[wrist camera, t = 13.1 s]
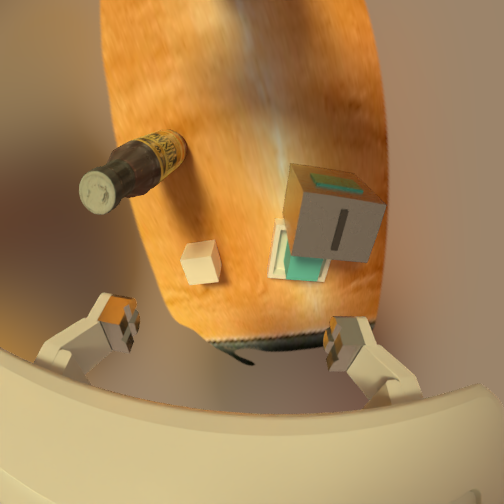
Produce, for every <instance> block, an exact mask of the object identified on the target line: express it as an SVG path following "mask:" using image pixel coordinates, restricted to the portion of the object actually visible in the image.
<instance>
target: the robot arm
mask: <svg viewBox="0 0 504 504" xmlns="http://www.w3.org/2000/svg"><path fill="white" fill-rule="evenodd" d="M136 306H137V304H136V300H135V299H134V298H130V297H124V296H119V295H114V294H108V293H102V294H101V295H100V296H99V298H98V300H97V301H96V303H95V305H94V306H93V308H92V310H91V312H90V313H89V315H88V317H87V319H86V318H83V319H81V320H80V321H78V322H76V323H75V324H74V325H71V326H70V327H68V328H67V329H65V330H63V331H62V332H60V333H59V334H57V335H55V336H54V337H52V338H51V339H49V340H47V341H46V342H45V343H44V345H43V346H42V348H41V350H40V352H39V354H38V356H37V357H36V359H35V361H34V363H31V362H29V361H27V360H24V359H22V358H20V357H18V356H16V355H14V354H12V353H10V352H8V351H6V350H4V349H3V348H1V347H0V504H504V408H503V405H502V403H501V401H500V400H499V398H498V397H497V396H496V395H495V394H493V393H492V392H491V391H490V390H489V389H488V388H487V387H485V386H484V385H482V384H480V383H479V384H478V383H477V384H473V385H470V386H467V387H464V388H461V389H457V390H454V391H451V392H447V393H444V394H440V395H437V396H432V397H428V398H423V396H422V393H421V390H420V387H419V384H418V382H417V379H416V376H415V375H414V374H413V373H412V372H410V371H409V370H408V369H407V368H405V366H404V365H402V364H401V363H400V362H399V361H398V360H397V359H396V358H394V357H393V356H392V355H391V354H390V353H389V352H387V351H386V350H385V349H384V348H383V347H382V346H381V345H377V343H376V341H375V338H374V335H373V333H372V330H371V327H370V325H369V322H368V320H367V318H366V317H351V316H333V317H332V318H331V319H330V322H329V324H330V327H329V328H328V329H326V331H325V334H324V339H323V346H324V351H325V352H326V353H327V354H328V356H327V358H326V362H327V367H328V371H347V373H348V375H349V376H350V377H351V378H352V379H353V381H354V382H355V383H356V384H357V385H358V387H359V388H360V389H361V390H362V392H363V393H364V394H365V395H366V397H367V398H368V399H369V400H370V401H369V402H368V403H367V404H366V405H365V406H364V407H363V408H362V410H355V411H345V412H332V413H316V414H252V413H236V412H235V413H234V412H223V411H213V410H204V409H197V408H189V407H183V406H176V405H170V404H165V403H159V402H155V401H150V400H145V399H140V398H136V397H132V396H127V395H123V394H120V393H116V392H112V391H109V390H105V389H101V388H98V387H95V386H92V385H91V383H90V382H89V380H88V379H87V377H86V376H85V374H87V373H88V372H89V371H90V370H91V369H92V368H93V367H94V366H96V365H97V364H98V363H99V362H100V361H101V360H102V359H104V358H105V357H106V356H107V355H108V354H109V353H110V352H112V350H114V351H120V352H125V353H130V351H131V348H132V345H133V343H134V340H133V336H134V335H136V334H137V332H138V330H139V324H140V316H139V312H138V311H137V310H136V309H135V308H136Z"/></svg>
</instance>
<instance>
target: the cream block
mask: <svg viewBox="0 0 504 504" xmlns="http://www.w3.org/2000/svg"><path fill="white" fill-rule="evenodd" d="M180 261H181V264H182V267H183V270H184V272H185V275H186V278H187V280H188V283H189V285H195V284H205V283H214V282H219V277H220V271H221V266H222V263H221V259H220V256H219V252H218V248H217V245H216V241H215V240H208V241H201V242H195V243H188V244H186V247H185V249H184V252H183V254H182V257H181V259H180Z"/></svg>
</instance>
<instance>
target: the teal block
mask: <svg viewBox="0 0 504 504" xmlns="http://www.w3.org/2000/svg"><path fill="white" fill-rule="evenodd" d="M322 263H323V259H320V258H309V257H298V256H291V253H290V248H289V243H288V240H287V245H286V250H285V256H284V268H285V275H286V279H290V280H303V281H317V280H318V276H319V273H320V270H321V266H322Z"/></svg>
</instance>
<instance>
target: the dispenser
mask: <svg viewBox="0 0 504 504" xmlns="http://www.w3.org/2000/svg"><path fill="white" fill-rule="evenodd" d="M386 206H387V205H386V204H385V203H384V202H383V201H382V200H381V199H380V198H379V197H378V196H377V195H376V194H375V193H374V192H373V191H372V190H371V189H370V188H369V187H368V186H367V185H366V184H365V183H364V182H363V181H362V180H360V179H359V178H358V177H357V176H356V175H355V174H353V173H348V172H342V171H337V170H331V169H325V168H319V167H312V166H306V165H299V164H291V163H290V169H289V176H288V182H287V188H286V195H285V201H284V207H283V218H284V223H285V228H286V233H287V238H288V243H289V248H290V253H291V256H298V257H309V258H320V259H331V260H342V261H353V262H364V263H367V262H368V259H369V256H370V254H371V251H372V248H373V245H374V242H375V239H376V237H377V234H378V231H379V228H380V225H381V222H382V218H383V215H384V212H385V209H386Z"/></svg>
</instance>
